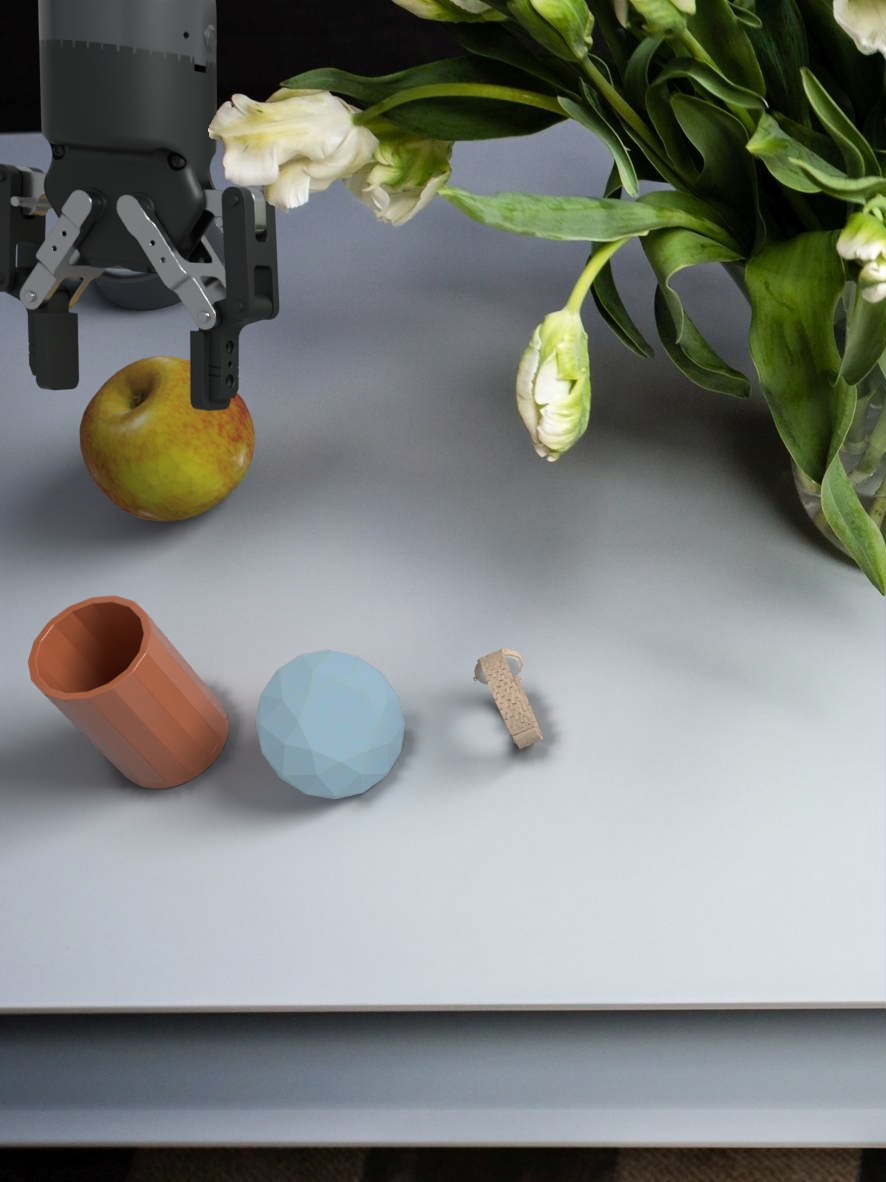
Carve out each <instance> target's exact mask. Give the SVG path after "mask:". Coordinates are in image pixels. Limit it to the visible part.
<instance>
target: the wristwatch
mask: <svg viewBox="0 0 886 1182" xmlns="http://www.w3.org/2000/svg"><path fill="white" fill-rule="evenodd" d="M476 662H477V663H476V664H475V667H474V670H473V671H474V672H473V673H474V677H472V678H473V681H475V682H476V681H478V682H479V683H481V684H483V685H487V686H488V688H489V689H490V692H491V694H492V697H493V699H494V702H495V704H496V706H497V708H498V710H499V713H500V715H501V716H502V719H503V721H504V723H505V725H506V727H507V730H508V732H509V734H510V735H511V737H512V740H511V741H512V742H513V743H514V745H515V744H516V746H517V747H518V749H519V750H522V749H524V748H526V747H529V746H530V745H533V744H536V743H537V742H540V741H543V740H544V739H543V734H542V732H541V729H540V726H539V724H538V721H537V719H536V716H535V714H534V711H533V709H532V706H531V704H530V701H529V700H528V697H527V695H526V693H525V691H524V688H523V687H522V683H521V680H522V676H521V675H519V673H521V671H522V668H523V666H524V660H523V656H522V655H521V654H520V653H519V652H517V651H516V650H512V649H507V647H503V648H500V649H499V650H495V651H493V652H490V653H488V654H486V655H485V656H481V657H479V658H478V659H477V660H476ZM518 675H519V676H518Z"/></svg>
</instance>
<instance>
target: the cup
mask: <svg viewBox="0 0 886 1182" xmlns="http://www.w3.org/2000/svg"><path fill="white" fill-rule="evenodd" d="M27 664H28V665H27V666H28V671H29V676H30V681H31V682H32V683H33V684H34V686H35V687H36V688H37V689H38V690H39V691H40V692H41V694H43V695H44V696H45V697H46V698H47V699H48V700H49V702H51V703H52V704H53V705H54V706H55V708H57V709H58V710H59V711H60V712H61V714H63V715H64V716H65V718H66V719H68V720H69V721H70V723H72V725H74V726H75V727H76V728H77V729H78V730H79V731H80V733H81V734H83V735H84V736H85V738H87V739H88V740H89V741H90V742H91V744H93V746H94V747H95V748H97V750H98V751H99V752H100V753H101V754H102V755H103V756H105V757H106V759H107V760H108V761H109V762H110V763H111V764H112V765H113V766H114V767H115V768H116V769H117V770H118V771H119V772H120V773H121V774H122V775H123V776H124V777H125V778H127V779H128V780H129V781H130V782H132V783H133V784H135V785H137V786H140V787H143V788H146V789H152V790H153V789H155V790H156V789H157V790H158V789H160V790H161V789H169V788H170V789H171V788H174V787H177V786H180V785H183V784H185V783H188V782H189V781H192V780H193V779H195V778H197V777H199V776H200V775H201V774H203V773H204V772H205V771H206V770H208V769H209V767H211V765H212V764H213V763H214V762H215V761H216V760H217V758H218V757H219V756H220V754H221V752H222V750H224V747H225V744H226V742H227V739H228V734H229V718H228V715H227V712H226V710H225V708H224V706H223V705H222V702H221V701H220V700H219V699H218V697H216V695H215V694H214V693H213V691H212V690H211V689H210V688H209V687H208V685H207V684H206V683H205V682H204V680H203V679H202V678H201V677H200V676H199V674H198V673H197V672H196V671H195V670H194V669H193V667H192V666H191V665H190V663H188V661H187V660H186V659H185V658H184V656H183V655H182V654H181V652H180V651H178V649H177V648H176V646H175V645H174V644H173V642H171V640H170V639H169V638H168V637H167V636H166V634H165V633H164V632H163V631H162V630H161V629H160V628H159V626H158V625H157V624H156V623H155V621H154V620H153V619H152V618H151V617H150V615H149V614H148V613H147V612H146V611H145V610H144V609H143V608H142V607H141V606H140V605H139V604H138V603H137V602H136V601H134V600H131V599H129V598H124V597H122V596H118V595H103V596H102V595H101V596H92V597H89V598H86V599H84V600H81V601H79V602H76V603H73V604H71V605H69V606H67V607H66V608H65V609H63V610H62V611H60V612H59V613H58V614H57V615H55V616H54V617H52V618H51V619H50V620H48V622H47V623H46V624H45V625H44V627H43V628H42V629H41V631H40V632H39V633H38V635H37V636H36V637H35V639H34V640H33V642H32V646H31V649H30V652H29V655H28V659H27Z"/></svg>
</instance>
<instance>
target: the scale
mask: <svg viewBox="0 0 886 1182" xmlns="http://www.w3.org/2000/svg"><path fill="white" fill-rule="evenodd" d="M204 235H205V237H206V238H207V240H208V242H209V243H210V245H211V247H212V248H213V250H214V252H215V253H216V255H217V256H218V258H219V260H220V261H221V263H222V264H224V262H225V260H224V240H223V233H222V232H221V231H220V230H219V228H218V227H217V226H216V225H215V219H214V220H213V221H212V223H211V224H210V226H209V227H208V229H207V231H206V232H205V234H204ZM187 262H189V261H188V260H187ZM93 281H95V283H96V284H97V286H98V287H99V289H100V290H101V292H102V293H103V295H104V296H105V297H106V298H107V299H108V300H109V301H110V302H112V303H113V304H115V305H117V306H119V307H122V308H124V309H128V310H130V309H131V310H134V311H135V310H136V311H137V310H139V311H147V310H149V311H150V310H155V309H156V310H157V309H160V308H165V307H169V306H172V305H175V304H178V303H180V302H182V301H181V299H180V298H179V296H178V295H177V293H176V292H174V291H173V290H171V289H169V288H168V287H167V286H166V285H165V284H164V282H163V281H162V279H161V278H160V276H159V274H158V273H143V272H134V271H131V270H129V269H112V268H106V269H105V270H104V272H103V273H102V274H101V275H100V276H98V277H97V278H94V279H93Z"/></svg>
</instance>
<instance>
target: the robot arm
mask: <svg viewBox="0 0 886 1182" xmlns="http://www.w3.org/2000/svg"><path fill="white" fill-rule="evenodd" d="M37 1H38V2H37V3H38V7H37V8H38V39H39V40H38V41H39V43H38V44H39V78H40V79H39V81H40V119H41V122H40V123H41V124H40V125H41V133H42V136H43V137H44V139H45V140H46V141H47V142H48V144H49V146H50V150H51V160H50V164H49V166H48V170H47V172H44V171H43V170H42V169H40V168H38V167H33V166H23V165H15V164H7V163H6V164H5V163H0V293H6V294H8V295H9V296H10V297H13V298H14V299H17V300H18V301H20V302H21V304H22V305H23V307H24V308H25V310H26V313H27V338H28V339H27V340H28V341H27V342H28V343H27V344H28V365H29V369H30V370H31V375H32V376H35V382H36V385H37V386H38V388H40V389H41V390H47V391H48V390H49V391H67V390H68V391H69V390H75V389H76V388H78V386H79V383H80V357H79V356H80V355H79V352H80V351H79V313H78V312H73V311H70V310H71V309H72V308H73V307H74V306H75V305H76V303H77V301H78V300H79V299H80V297H81V295H82V294H83V293H84V291H85V289H87V286H88V285H89V283H90V282H91V281H93V280H94V278H97V277H98V276H100V275H101V274H102V273H103V272H104V270H105V269H106V268H112V269H129V270H131V271H134V272H143V273H158V274H159V276H160V278H161V279H162V281H163V282H164V284H165V285H166V286H167V287H168V288H169V289H171V290H173V291H174V292H176V293H177V295H178V296H179V298H180V299H181V301H180V302H181V303H182V305H183V307H184V308H185V310H186V311H187V312H188V314H189V316H190V317H191V319H192V321H193V322H194V324H195V325H196V327H198V330H189V355H190V356H189V360H190V402H191V405H192V407H193V408H194V409H198V410H205V411H214V410H225V409H227V408H228V407H229V405H230V402H231V398H235V397H236V394H237V393H238V391H239V388H240V377H239V374H240V368H239V367H240V336H241V335H240V334H241V332H242V330H243V329H244V328H245V327H246V326H248V325H251V324H255V323H258V322H262V321H270V320H274V319H276V318H277V317H278V315H279V313H280V289H279V287H280V286H279V267H278V264H279V263H278V245H277V243H278V241H277V223H276V222H277V221H276V219H277V218H276V205H275V206H273V205H270V204H269V203H268V202H267V201H266V199H265V196H264V190H265V189H258V188H255V187H247V186H228V187H226V188H225V189H216V187H215V183H214V182H213V179H212V175H211V164H212V161H213V158H214V157H215V155H216V153H217V148H218V146H217V143H218V142H217V141H218V140H215V139H211V138H210V137H209V132H208V128H209V125H210V124H211V122H212V120H213V118H214V116H215V115H216V114H217V111H218V110H217V109H218V105H217V103H218V98H217V97H218V95H217V92H218V91H217V90H218V89H217V87H218V83H217V81H218V80H217V79H218V77H217V75H218V72H217V71H218V69H217V68H218V66H217V65H218V64H217V45H218V44H217V43H218V38H217V22H218V21H217V19H218V18H217V16H218V15H217V2H216V1H217V0H37ZM217 115H218V114H217ZM52 209H53V211H54V213H55V215H56V217H57V218H58V219H57V221H56V222H55V224H54V226H53V227H52V229H51V230H50V232H49V233H48V235H47V236H46V231H47V229H46V226H47V225H46V224H47V213H48V212H49V211H50V210H52ZM213 220H214V222H215V225H216V226H217V227H218V229H219V231H220V232H221V234H222V236H223V240H224V264H223V263H221V261H220V260H219V258H218V256H217V255H216V253H215V252H214V250H213V248H212V247H211V245H210V243H209V242H208V240H207V238H206V237H205V235H204V234H205V232H206V231H207V229H208V227H209V226H210V224H211V223H212V221H213ZM187 260H188V261H189V262H187Z"/></svg>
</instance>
